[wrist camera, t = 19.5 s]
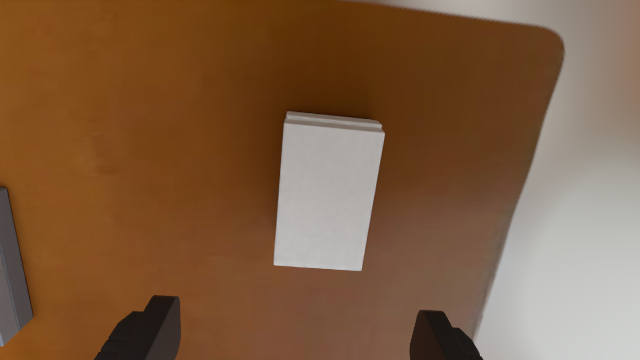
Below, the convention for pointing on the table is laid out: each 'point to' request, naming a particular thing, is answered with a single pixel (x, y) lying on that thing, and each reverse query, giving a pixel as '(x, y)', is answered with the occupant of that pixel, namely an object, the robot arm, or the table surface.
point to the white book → (326, 193)
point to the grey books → (11, 277)
